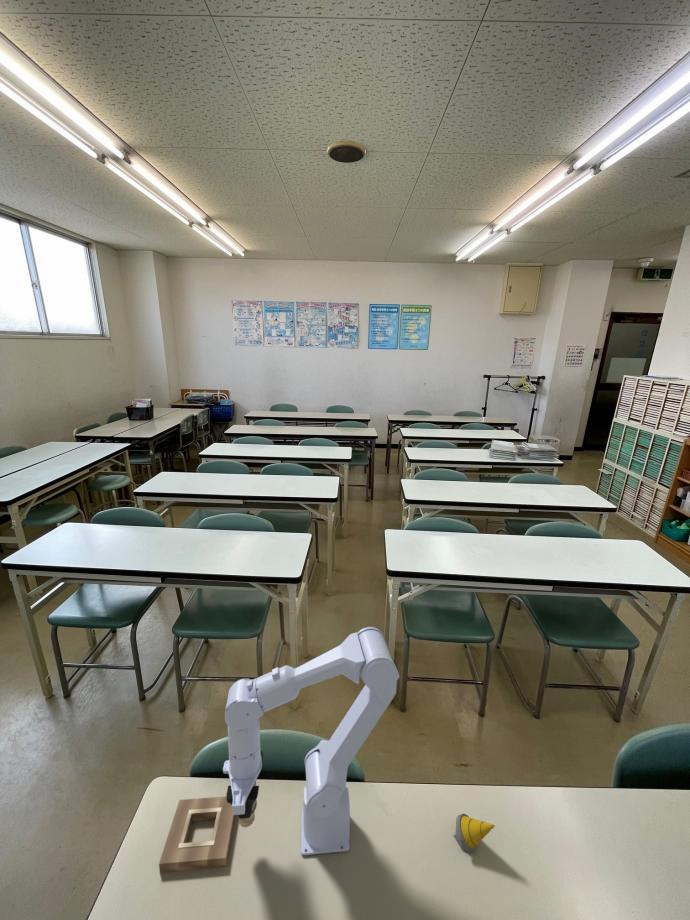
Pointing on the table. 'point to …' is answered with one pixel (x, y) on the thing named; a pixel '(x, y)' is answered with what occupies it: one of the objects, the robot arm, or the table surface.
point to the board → (198, 853)
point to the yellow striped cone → (470, 832)
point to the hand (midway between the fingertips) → (246, 803)
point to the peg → (249, 821)
